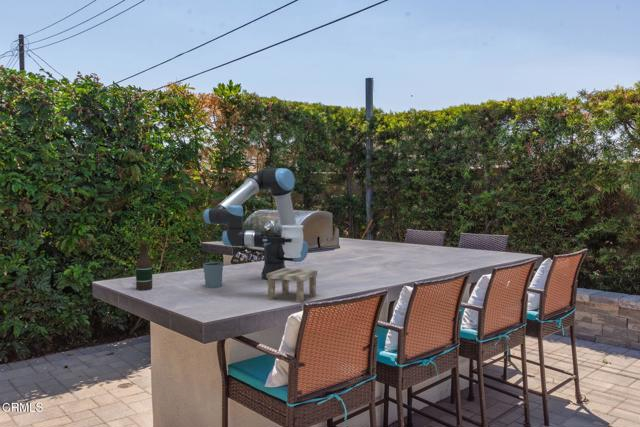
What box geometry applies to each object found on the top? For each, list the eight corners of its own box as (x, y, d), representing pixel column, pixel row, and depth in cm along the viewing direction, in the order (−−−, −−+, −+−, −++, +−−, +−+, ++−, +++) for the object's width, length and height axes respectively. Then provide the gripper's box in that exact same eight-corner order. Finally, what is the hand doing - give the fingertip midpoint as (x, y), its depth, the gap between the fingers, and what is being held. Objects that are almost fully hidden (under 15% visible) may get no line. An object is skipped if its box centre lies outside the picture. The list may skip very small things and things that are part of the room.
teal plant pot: (226, 285, 259) (226, 262, 258) (215, 288, 250) (215, 265, 249) (211, 283, 263) (211, 261, 262) (199, 287, 254) (199, 264, 253)
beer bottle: (155, 288, 251) (155, 241, 250) (145, 291, 243) (145, 243, 242) (143, 287, 253) (142, 241, 252) (132, 290, 246) (132, 242, 245)
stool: (266, 299, 225) (266, 273, 224) (283, 292, 242) (283, 268, 241) (302, 303, 218) (302, 276, 218) (317, 295, 235) (317, 270, 234)
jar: (281, 255, 234) (281, 224, 233) (302, 255, 235) (302, 224, 234) (281, 258, 223) (281, 226, 223) (303, 258, 224) (304, 226, 224)
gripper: (261, 243, 242) (304, 244, 240) (248, 249, 220) (296, 250, 217) (261, 228, 242) (304, 229, 239) (248, 232, 219) (296, 233, 217)
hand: (301, 239), depth 228 cm, fingers closed on jar, 10 cm apart
